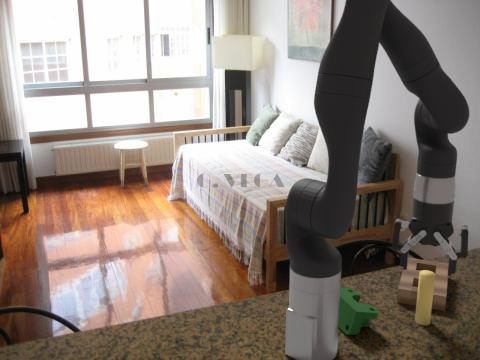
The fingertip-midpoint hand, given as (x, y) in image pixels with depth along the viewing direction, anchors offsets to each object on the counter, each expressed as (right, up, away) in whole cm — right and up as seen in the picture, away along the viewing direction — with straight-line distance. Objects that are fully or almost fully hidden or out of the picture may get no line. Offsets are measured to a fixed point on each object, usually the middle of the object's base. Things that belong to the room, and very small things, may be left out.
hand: (426, 271), depth 106 cm
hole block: (+5, -7, +16) cm, 18 cm away
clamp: (-15, -11, +3) cm, 19 cm away
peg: (0, -11, +2) cm, 11 cm away
